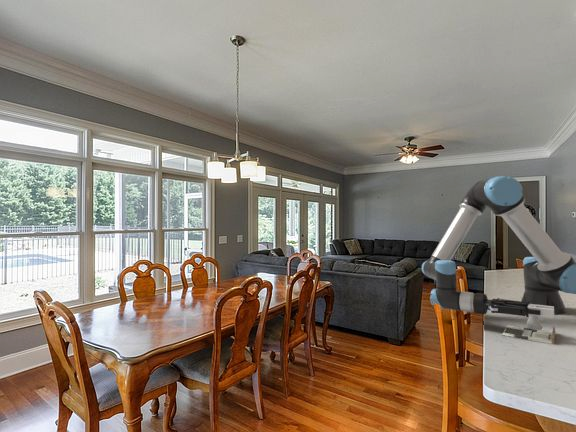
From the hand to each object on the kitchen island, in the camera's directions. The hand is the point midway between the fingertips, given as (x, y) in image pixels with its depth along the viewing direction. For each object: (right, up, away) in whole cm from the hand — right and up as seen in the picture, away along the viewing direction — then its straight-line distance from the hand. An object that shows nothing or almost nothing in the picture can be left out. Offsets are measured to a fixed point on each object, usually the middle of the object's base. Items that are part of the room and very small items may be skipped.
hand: (553, 312), depth 106 cm
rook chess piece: (-4, -7, +4) cm, 8 cm away
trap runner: (-5, -9, +5) cm, 11 cm away
